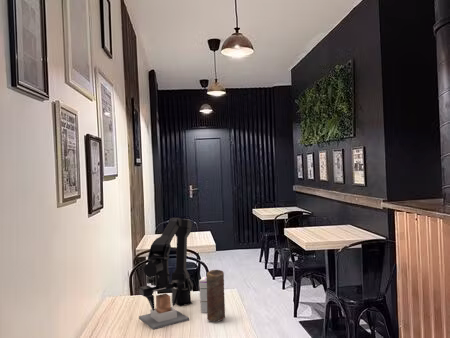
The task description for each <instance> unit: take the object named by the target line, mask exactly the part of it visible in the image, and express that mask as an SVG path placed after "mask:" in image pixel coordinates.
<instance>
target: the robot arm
mask: <svg viewBox="0 0 450 338" xmlns="http://www.w3.org/2000/svg"><path fill="white" fill-rule="evenodd" d="M192 227H193V224H192V221H191V220H190V219H188V218H183V219H182V218H181V217H171V218H169V219H168V224H167V225H166V227H165V228H164V231H163V232H162V233H161V236H159V237H157V238H156V239H155V240H154V241H153V242H152V243H151V245H150V249H149V252H148V255H147V263H146V264H145V266H144V267H143V272H144V275H145V276H146V277H145V282H146V284H147V285H144V286H140V287H139V289H138V294H139V295H141V296H143V297H144V298H146V299H147V301H148V303H149V305H150V309H152V310H153V311H154V309H155V295H154V292H158V291H163V290H170V289H171V305H172V307H175V305H178V306H180V307H182V306H186V305H192V304H193V301H192V300H191V299H192V298H191V292H192V291H193V289H194V283H193V282H192V280H191V279H190V278H191V277H190V276H191V274H190V273H189V272H188V269H187V260H188V259H187V256H188V255H187V254H188V253H187V252H188V237H189V236H190V234H191V231H192ZM174 237H176V257H175V258H176V259H175V270H174V272H172V273H169V271H170V270H169V258H170V252H171V248H172V246H171V243H172V241H173V238H174ZM170 277H171V280H170ZM148 284H150V286H149V285H148Z"/></svg>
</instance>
